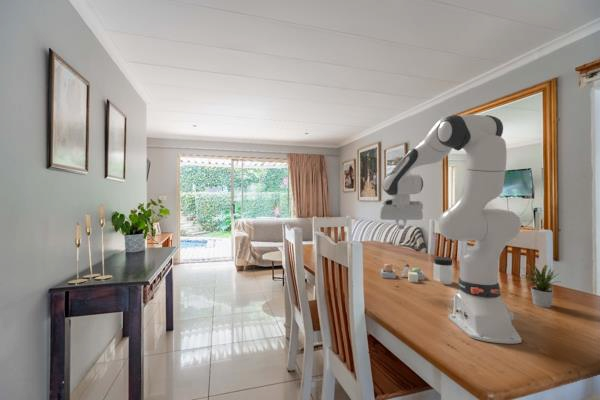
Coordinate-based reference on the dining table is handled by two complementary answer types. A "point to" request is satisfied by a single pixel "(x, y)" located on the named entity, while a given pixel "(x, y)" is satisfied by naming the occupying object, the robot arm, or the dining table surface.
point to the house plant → (541, 287)
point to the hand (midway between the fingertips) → (401, 228)
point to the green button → (416, 270)
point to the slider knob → (412, 276)
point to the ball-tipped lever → (404, 270)
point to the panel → (393, 274)
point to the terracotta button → (387, 267)
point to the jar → (443, 270)
